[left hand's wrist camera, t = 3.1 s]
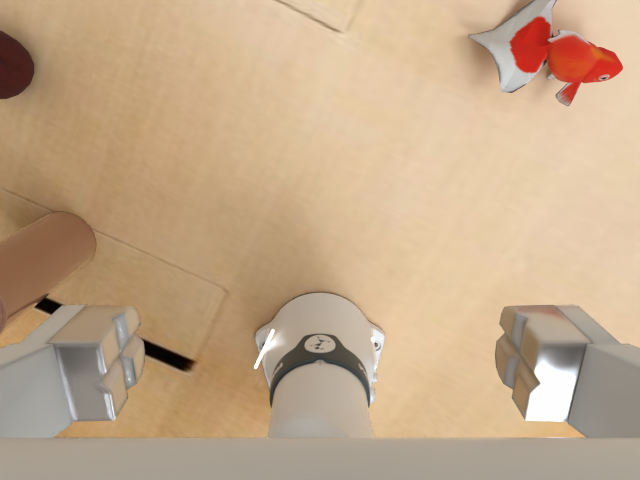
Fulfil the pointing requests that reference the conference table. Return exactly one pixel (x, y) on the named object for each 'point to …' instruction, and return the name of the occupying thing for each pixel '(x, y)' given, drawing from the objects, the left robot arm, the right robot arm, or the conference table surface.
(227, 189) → the conference table surface
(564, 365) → the left robot arm
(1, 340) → the conference table surface
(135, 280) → the conference table surface
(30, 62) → the dark maroon ball
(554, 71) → the fish
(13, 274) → the bottle
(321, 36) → the conference table surface
